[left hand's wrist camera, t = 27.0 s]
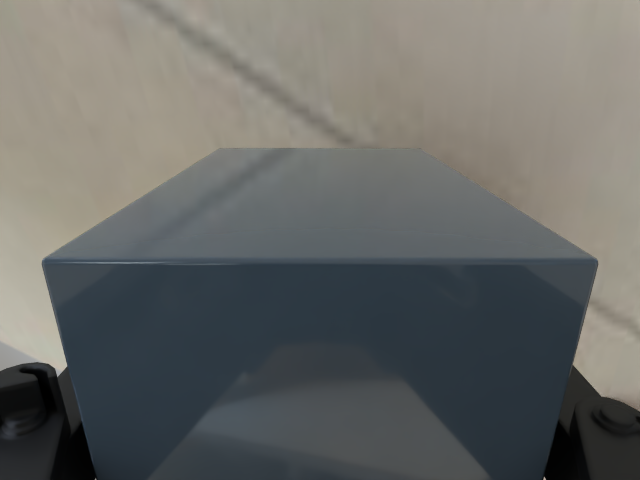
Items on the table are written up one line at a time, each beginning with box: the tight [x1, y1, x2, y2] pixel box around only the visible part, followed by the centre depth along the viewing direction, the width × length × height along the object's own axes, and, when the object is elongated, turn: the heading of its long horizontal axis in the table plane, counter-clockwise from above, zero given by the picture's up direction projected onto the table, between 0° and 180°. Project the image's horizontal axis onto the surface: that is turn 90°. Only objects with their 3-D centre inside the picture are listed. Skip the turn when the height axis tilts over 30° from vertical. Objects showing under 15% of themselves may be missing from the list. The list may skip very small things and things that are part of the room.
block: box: [42, 148, 598, 480], centre depth 12 cm, size 9×8×10 cm
